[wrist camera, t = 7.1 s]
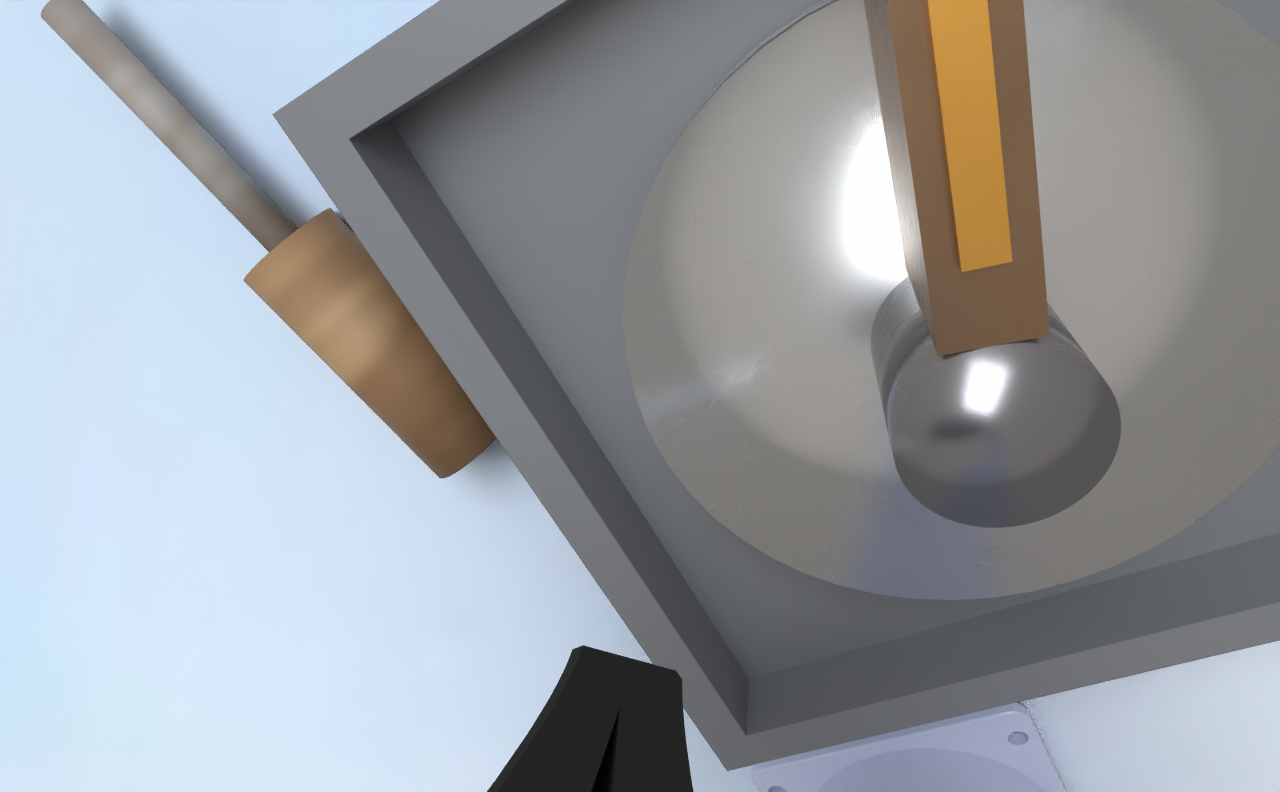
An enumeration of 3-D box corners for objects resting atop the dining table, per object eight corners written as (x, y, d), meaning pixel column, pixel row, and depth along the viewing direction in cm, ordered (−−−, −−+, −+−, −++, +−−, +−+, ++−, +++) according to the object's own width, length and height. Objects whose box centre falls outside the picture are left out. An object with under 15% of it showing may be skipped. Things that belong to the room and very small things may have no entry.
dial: (1285, 510, 17) (1469, 719, 13) (715, 581, 20) (694, 769, 16) (1333, -287, 11) (1700, -438, 7) (529, -18, 15) (411, 1, 10)
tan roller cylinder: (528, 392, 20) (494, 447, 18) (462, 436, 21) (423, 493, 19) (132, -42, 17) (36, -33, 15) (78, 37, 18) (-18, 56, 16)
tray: (1510, 463, 18) (1637, 555, 15) (733, 679, 24) (727, 770, 21) (1351, -579, 11) (1524, -736, 9) (348, 88, 17) (272, 114, 15)
